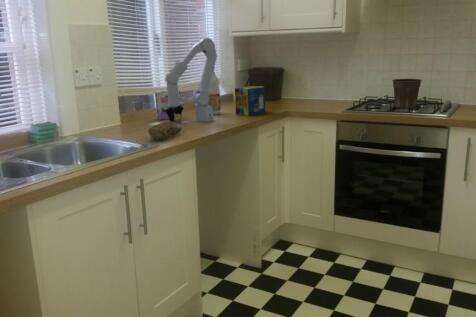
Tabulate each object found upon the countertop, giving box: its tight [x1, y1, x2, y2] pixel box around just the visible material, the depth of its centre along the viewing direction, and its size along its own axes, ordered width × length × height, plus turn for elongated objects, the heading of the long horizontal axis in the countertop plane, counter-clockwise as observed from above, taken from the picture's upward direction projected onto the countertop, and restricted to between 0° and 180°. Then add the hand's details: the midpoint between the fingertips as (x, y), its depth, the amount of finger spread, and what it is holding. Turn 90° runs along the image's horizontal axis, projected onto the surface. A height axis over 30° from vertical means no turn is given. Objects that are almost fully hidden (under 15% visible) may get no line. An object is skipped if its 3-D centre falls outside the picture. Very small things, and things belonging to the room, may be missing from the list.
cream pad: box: [147, 121, 160, 125], centre depth 237 cm, size 6×6×1 cm
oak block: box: [168, 113, 182, 123], centre depth 239 cm, size 4×4×4 cm
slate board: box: [145, 120, 191, 127], centre depth 238 cm, size 16×18×1 cm
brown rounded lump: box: [148, 121, 183, 140], centre depth 204 cm, size 13×8×20 cm
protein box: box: [234, 85, 266, 117], centre depth 264 cm, size 10×15×16 cm
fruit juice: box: [208, 66, 221, 116], centre depth 268 cm, size 9×9×28 cm
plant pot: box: [391, 78, 423, 110], centre depth 262 cm, size 16×16×16 cm
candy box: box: [154, 89, 183, 120], centre depth 255 cm, size 14×6×16 cm, turn 105°
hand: (175, 121), depth 239 cm, fingers closed on oak block, 4 cm apart
